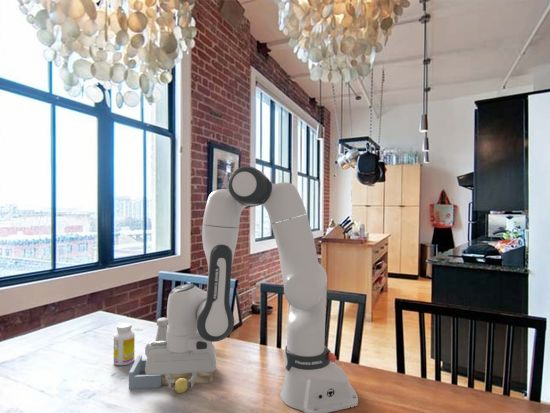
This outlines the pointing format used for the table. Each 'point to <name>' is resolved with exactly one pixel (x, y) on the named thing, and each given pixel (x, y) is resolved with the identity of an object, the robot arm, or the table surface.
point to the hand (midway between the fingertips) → (181, 386)
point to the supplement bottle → (124, 344)
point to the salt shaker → (162, 329)
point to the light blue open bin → (142, 376)
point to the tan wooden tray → (199, 378)
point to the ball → (181, 385)
